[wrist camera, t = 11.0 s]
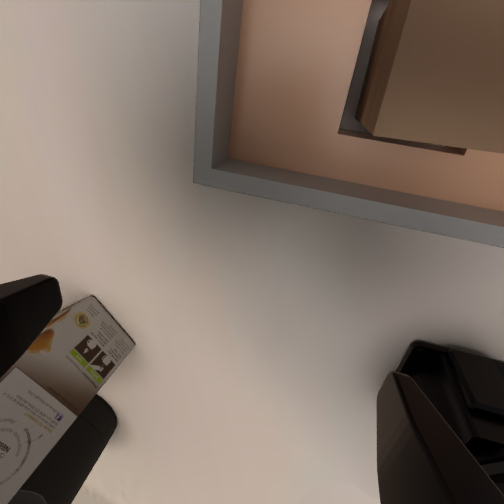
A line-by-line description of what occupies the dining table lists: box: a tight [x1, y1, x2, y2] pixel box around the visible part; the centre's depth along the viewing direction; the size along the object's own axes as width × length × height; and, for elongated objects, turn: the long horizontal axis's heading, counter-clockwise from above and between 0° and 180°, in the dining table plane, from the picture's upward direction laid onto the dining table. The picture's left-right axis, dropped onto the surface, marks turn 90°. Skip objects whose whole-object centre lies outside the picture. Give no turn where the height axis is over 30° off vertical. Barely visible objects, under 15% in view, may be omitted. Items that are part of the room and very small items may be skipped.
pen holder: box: [8, 395, 116, 504], centre depth 31 cm, size 9×9×10 cm
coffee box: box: [0, 296, 135, 504], centre depth 22 cm, size 9×6×16 cm
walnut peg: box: [355, 0, 504, 154], centre depth 11 cm, size 4×4×8 cm
